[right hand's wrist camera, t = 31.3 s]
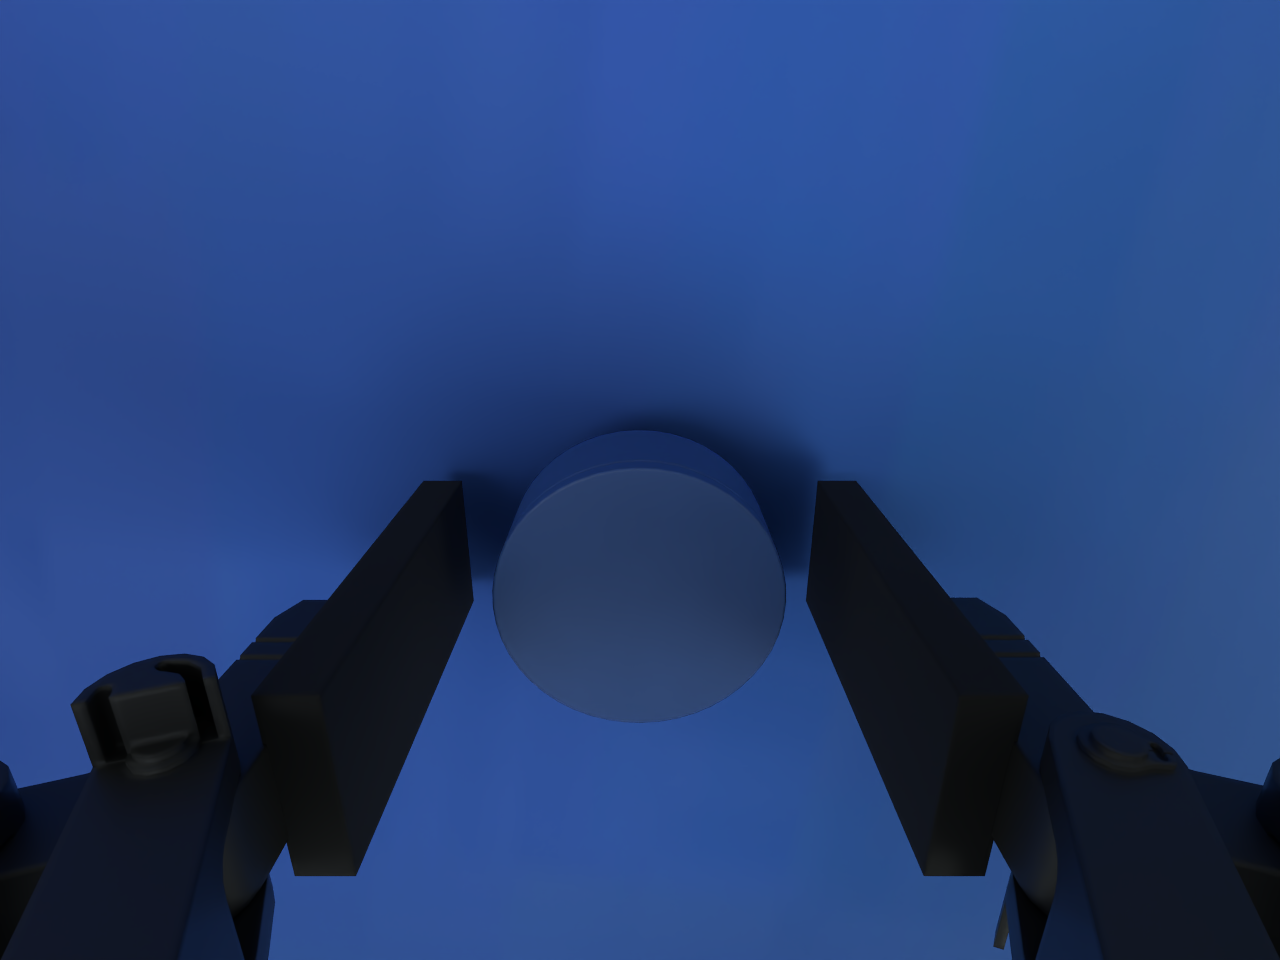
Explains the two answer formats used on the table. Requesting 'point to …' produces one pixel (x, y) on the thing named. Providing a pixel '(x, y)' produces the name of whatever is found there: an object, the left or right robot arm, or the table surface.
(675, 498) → the lid
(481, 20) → the table surface
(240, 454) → the table surface
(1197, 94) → the table surface
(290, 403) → the table surface
